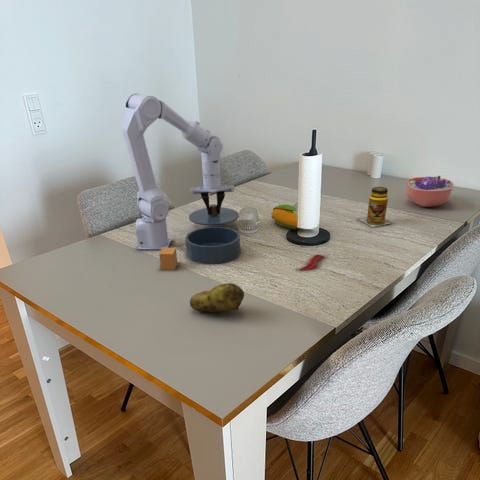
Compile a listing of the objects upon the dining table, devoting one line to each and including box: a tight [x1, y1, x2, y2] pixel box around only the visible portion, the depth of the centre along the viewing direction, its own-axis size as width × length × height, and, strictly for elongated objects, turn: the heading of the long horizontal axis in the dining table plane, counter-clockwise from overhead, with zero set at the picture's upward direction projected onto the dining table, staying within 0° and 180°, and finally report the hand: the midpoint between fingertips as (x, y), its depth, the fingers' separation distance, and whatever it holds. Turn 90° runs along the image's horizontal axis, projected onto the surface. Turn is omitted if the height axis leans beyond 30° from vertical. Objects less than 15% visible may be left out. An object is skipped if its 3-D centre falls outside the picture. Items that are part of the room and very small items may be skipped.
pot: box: [185, 226, 241, 265], centre depth 143 cm, size 16×16×5 cm
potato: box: [189, 282, 245, 313], centre depth 112 cm, size 8×13×8 cm, turn 57°
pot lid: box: [188, 204, 240, 226], centre depth 159 cm, size 17×17×4 cm
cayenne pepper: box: [298, 254, 325, 271], centre depth 135 cm, size 12×5×2 cm, turn 131°
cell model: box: [405, 175, 455, 208], centre depth 176 cm, size 17×20×11 cm
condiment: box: [358, 186, 391, 228], centre depth 161 cm, size 7×8×12 cm
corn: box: [271, 203, 297, 231], centre depth 159 cm, size 7×8×20 cm
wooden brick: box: [158, 247, 178, 271], centre depth 136 cm, size 4×5×5 cm
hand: (213, 213), depth 160 cm, fingers closed on pot lid, 2 cm apart
